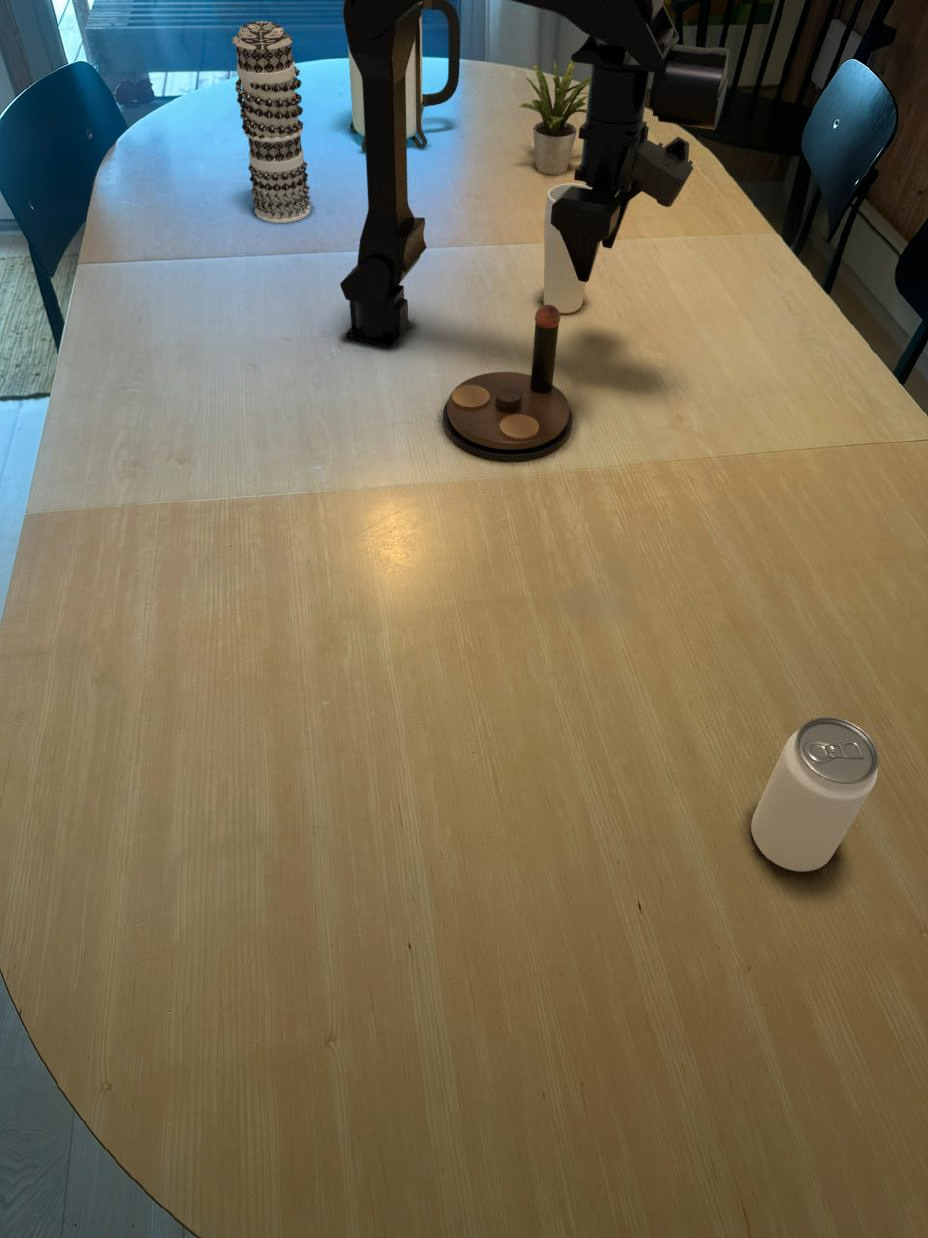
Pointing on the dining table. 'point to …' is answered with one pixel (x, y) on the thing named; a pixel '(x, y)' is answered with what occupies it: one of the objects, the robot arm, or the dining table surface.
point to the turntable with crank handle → (514, 398)
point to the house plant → (555, 120)
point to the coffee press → (414, 77)
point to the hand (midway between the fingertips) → (595, 263)
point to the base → (506, 454)
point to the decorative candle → (272, 121)
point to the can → (815, 793)
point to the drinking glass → (559, 262)
